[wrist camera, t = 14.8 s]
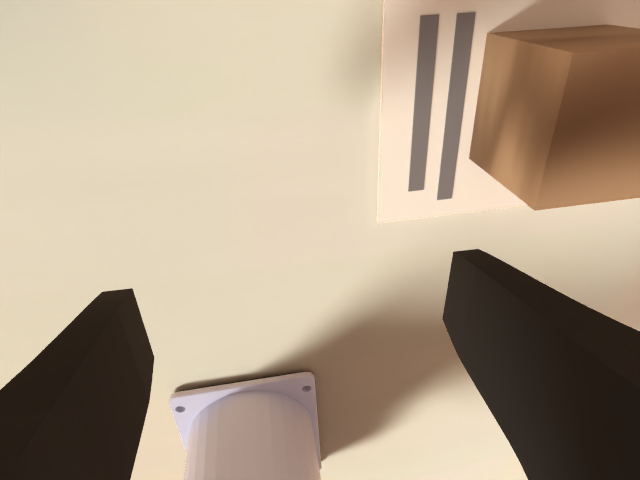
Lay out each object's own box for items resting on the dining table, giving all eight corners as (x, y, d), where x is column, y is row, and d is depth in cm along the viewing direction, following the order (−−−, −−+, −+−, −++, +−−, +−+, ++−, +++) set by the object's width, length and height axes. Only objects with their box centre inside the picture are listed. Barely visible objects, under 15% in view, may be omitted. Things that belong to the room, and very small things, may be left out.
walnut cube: (573, 147, 20) (665, 194, 15) (468, 158, 19) (534, 210, 15) (607, 24, 17) (729, 40, 13) (487, 32, 16) (573, 52, 12)
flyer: (629, 191, 22) (633, 193, 21) (376, 221, 20) (378, 224, 20) (717, -50, 16) (723, -50, 16) (383, -32, 15) (386, -32, 15)
